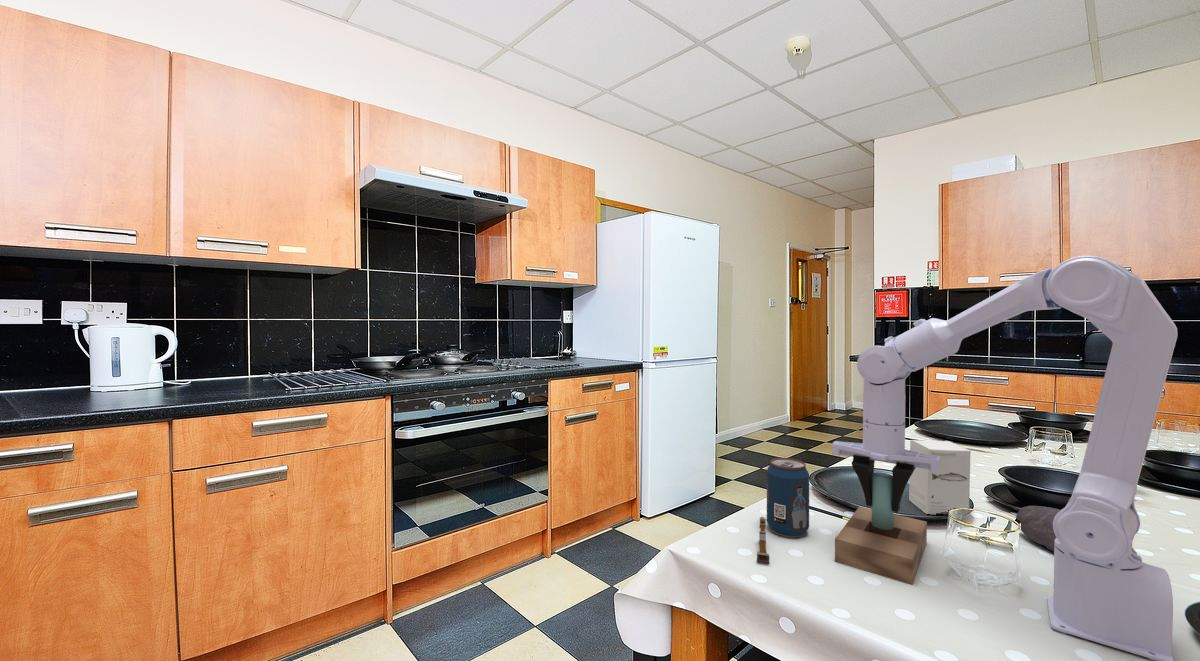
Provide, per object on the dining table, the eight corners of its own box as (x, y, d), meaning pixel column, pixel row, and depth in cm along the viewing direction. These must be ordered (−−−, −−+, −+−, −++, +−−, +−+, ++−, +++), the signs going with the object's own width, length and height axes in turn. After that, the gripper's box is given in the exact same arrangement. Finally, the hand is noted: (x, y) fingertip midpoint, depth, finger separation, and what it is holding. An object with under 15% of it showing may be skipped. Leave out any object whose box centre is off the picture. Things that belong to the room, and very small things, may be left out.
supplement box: (926, 515, 89) (927, 448, 89) (908, 500, 97) (908, 438, 96) (970, 518, 88) (971, 450, 88) (948, 502, 95) (949, 440, 95)
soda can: (776, 518, 88) (776, 454, 88) (815, 529, 84) (815, 462, 83) (759, 530, 83) (759, 462, 83) (799, 543, 79) (799, 471, 78)
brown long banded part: (768, 534, 80) (768, 514, 79) (769, 575, 74) (769, 554, 72) (756, 532, 81) (756, 512, 79) (756, 573, 74) (756, 553, 72)
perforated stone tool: (1003, 533, 82) (1004, 493, 82) (1031, 532, 82) (1032, 492, 82) (1104, 582, 67) (1105, 533, 67) (1137, 579, 67) (1138, 531, 67)
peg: (894, 524, 76) (895, 474, 76) (892, 531, 73) (893, 480, 73) (872, 519, 78) (873, 471, 77) (870, 526, 75) (870, 476, 75)
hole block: (926, 542, 79) (926, 521, 78) (912, 584, 66) (912, 559, 66) (859, 525, 85) (859, 506, 85) (834, 561, 73) (835, 538, 73)
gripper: (827, 419, 77) (826, 503, 77) (937, 433, 67) (935, 528, 68) (838, 413, 82) (838, 490, 83) (941, 424, 73) (940, 512, 73)
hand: (882, 507), depth 76 cm, fingers closed on peg, 3 cm apart
